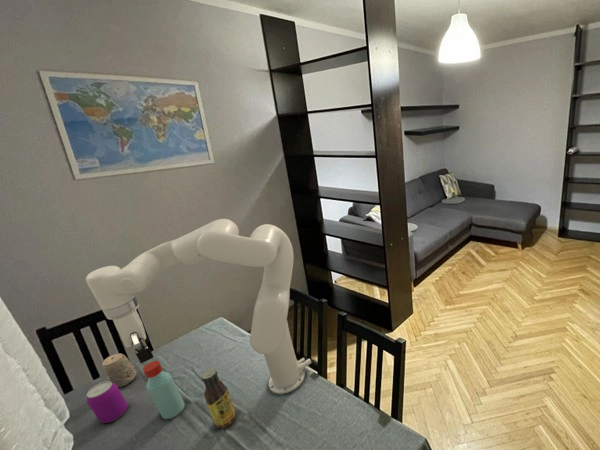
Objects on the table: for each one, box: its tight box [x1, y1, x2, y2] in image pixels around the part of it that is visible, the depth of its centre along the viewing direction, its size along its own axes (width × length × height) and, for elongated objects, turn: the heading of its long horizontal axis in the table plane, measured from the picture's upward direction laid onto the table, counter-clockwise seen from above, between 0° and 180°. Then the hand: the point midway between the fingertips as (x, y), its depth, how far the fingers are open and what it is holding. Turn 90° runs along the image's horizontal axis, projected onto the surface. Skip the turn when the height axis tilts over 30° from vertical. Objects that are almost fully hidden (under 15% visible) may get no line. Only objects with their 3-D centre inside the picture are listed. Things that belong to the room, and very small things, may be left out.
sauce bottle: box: [200, 368, 237, 429], centre depth 98 cm, size 6×6×20 cm
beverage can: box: [86, 380, 129, 424], centre depth 105 cm, size 8×8×12 cm
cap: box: [142, 360, 163, 379], centre depth 99 cm, size 4×4×3 cm
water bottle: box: [146, 370, 186, 420], centre depth 103 cm, size 7×7×20 cm
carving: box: [101, 352, 137, 388], centre depth 117 cm, size 6×8×12 cm
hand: (145, 351), depth 97 cm, fingers open, 9 cm apart
